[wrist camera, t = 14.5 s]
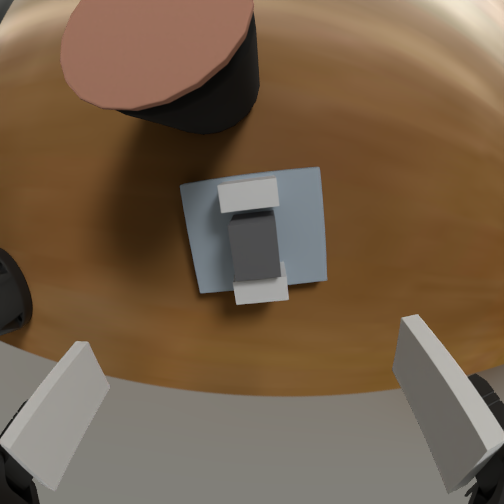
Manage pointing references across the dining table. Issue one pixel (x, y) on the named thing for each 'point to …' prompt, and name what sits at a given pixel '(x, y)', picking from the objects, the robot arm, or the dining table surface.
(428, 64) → the dining table surface
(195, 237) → the board
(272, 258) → the dark gray block
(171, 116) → the coffee jar
